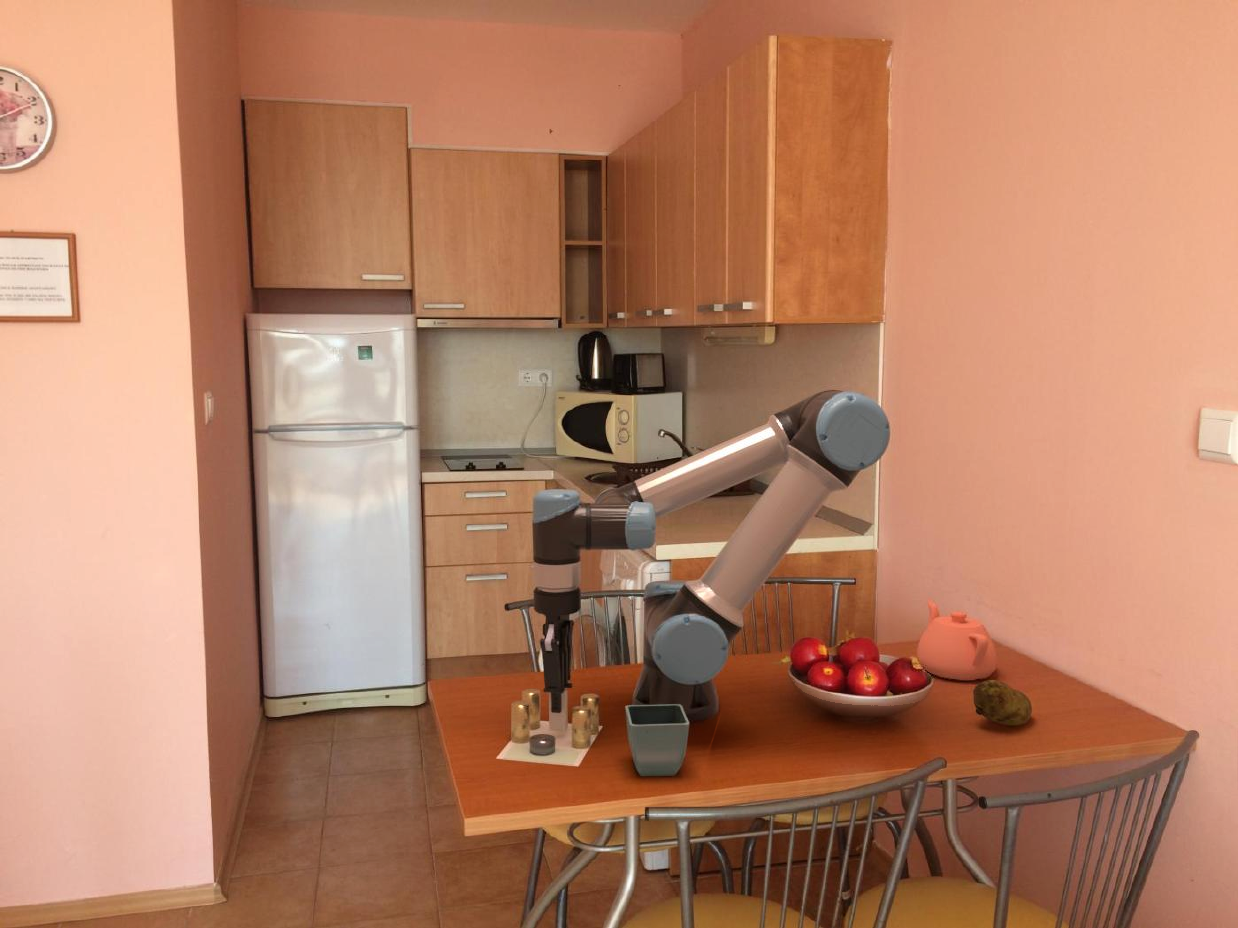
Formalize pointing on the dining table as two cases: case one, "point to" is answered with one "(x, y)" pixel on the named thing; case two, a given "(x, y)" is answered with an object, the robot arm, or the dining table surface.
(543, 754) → the dark metal puck
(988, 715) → the potato
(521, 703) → the cylinder
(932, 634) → the teapot
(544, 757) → the board
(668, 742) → the flower pot
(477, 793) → the dining table surface
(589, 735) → the cylinder
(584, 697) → the cylinder
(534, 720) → the cylinder
